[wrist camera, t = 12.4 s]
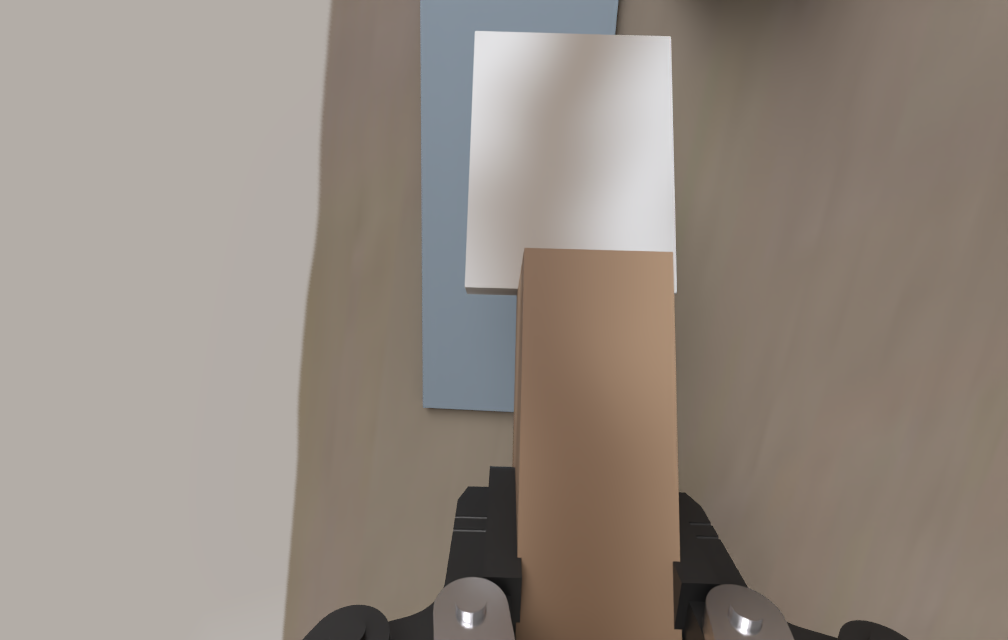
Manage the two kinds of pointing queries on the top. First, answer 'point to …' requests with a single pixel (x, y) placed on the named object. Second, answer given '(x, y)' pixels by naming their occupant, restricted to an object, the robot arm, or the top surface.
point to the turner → (584, 319)
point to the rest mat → (445, 185)
